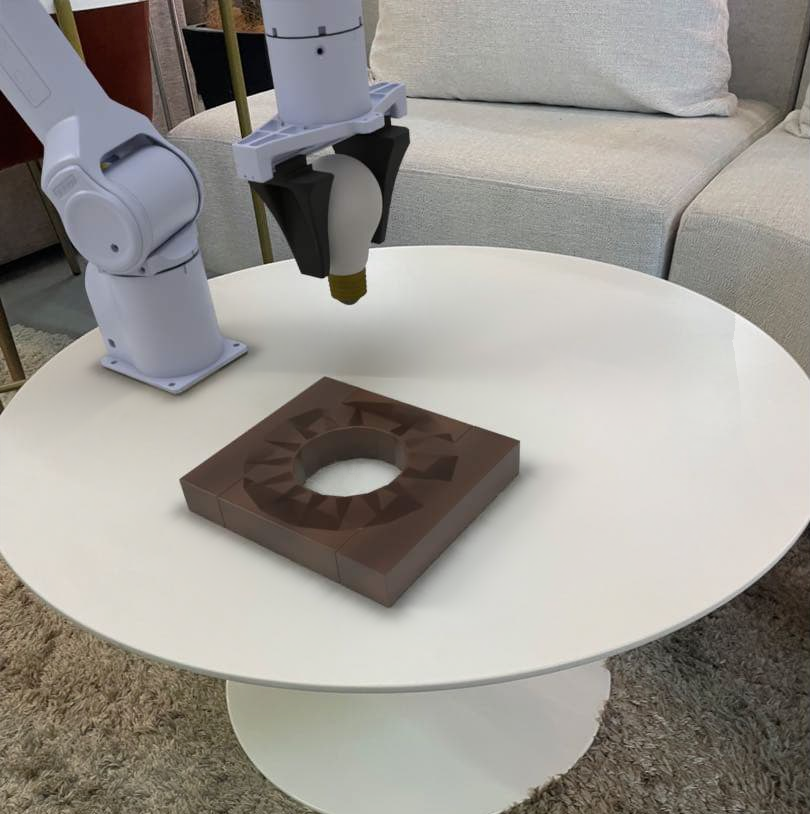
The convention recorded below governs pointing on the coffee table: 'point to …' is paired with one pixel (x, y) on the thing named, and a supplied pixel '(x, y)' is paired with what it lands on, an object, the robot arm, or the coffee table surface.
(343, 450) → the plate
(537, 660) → the coffee table surface
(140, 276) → the robot arm
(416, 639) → the coffee table surface
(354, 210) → the light bulb
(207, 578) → the coffee table surface
